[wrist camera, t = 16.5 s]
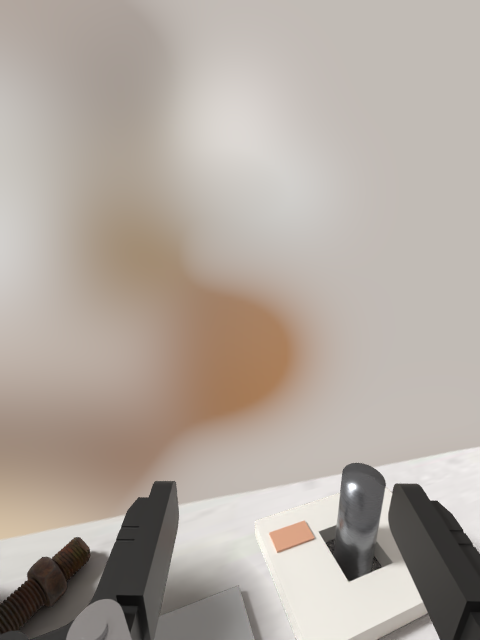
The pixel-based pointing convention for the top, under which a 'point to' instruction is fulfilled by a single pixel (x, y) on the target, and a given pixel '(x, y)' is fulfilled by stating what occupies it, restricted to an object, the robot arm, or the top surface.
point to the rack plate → (335, 576)
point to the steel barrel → (358, 519)
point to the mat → (208, 619)
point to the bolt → (43, 585)
